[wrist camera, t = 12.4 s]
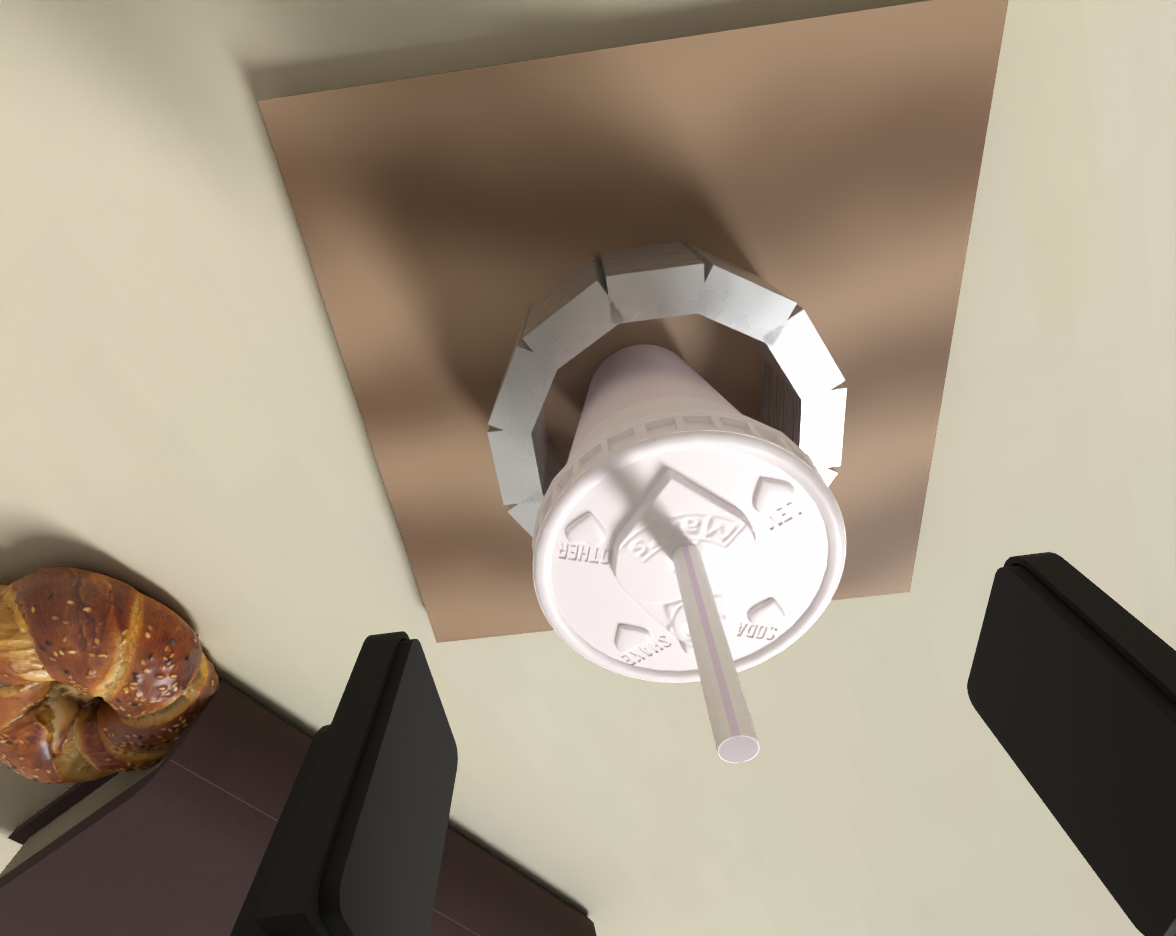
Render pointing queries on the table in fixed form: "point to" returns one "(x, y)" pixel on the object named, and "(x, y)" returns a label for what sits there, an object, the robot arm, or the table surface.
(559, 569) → the smoothie
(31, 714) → the pretzel
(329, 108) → the walnut board
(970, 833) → the table surface
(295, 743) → the book
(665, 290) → the steel sleeve
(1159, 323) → the table surface
